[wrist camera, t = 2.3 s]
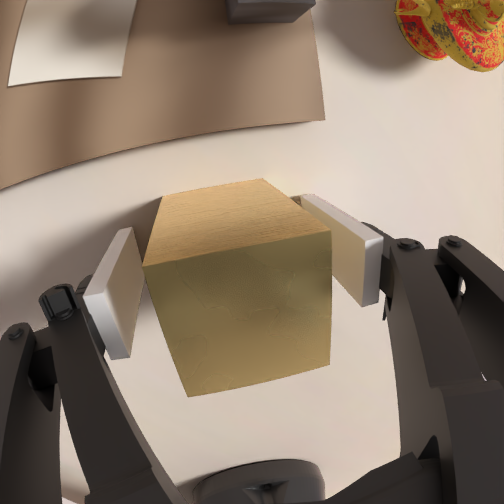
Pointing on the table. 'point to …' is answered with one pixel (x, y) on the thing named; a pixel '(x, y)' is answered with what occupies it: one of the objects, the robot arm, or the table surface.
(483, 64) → the magic lamp
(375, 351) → the table surface
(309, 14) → the shaft bench
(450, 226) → the table surface
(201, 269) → the block
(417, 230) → the table surface
